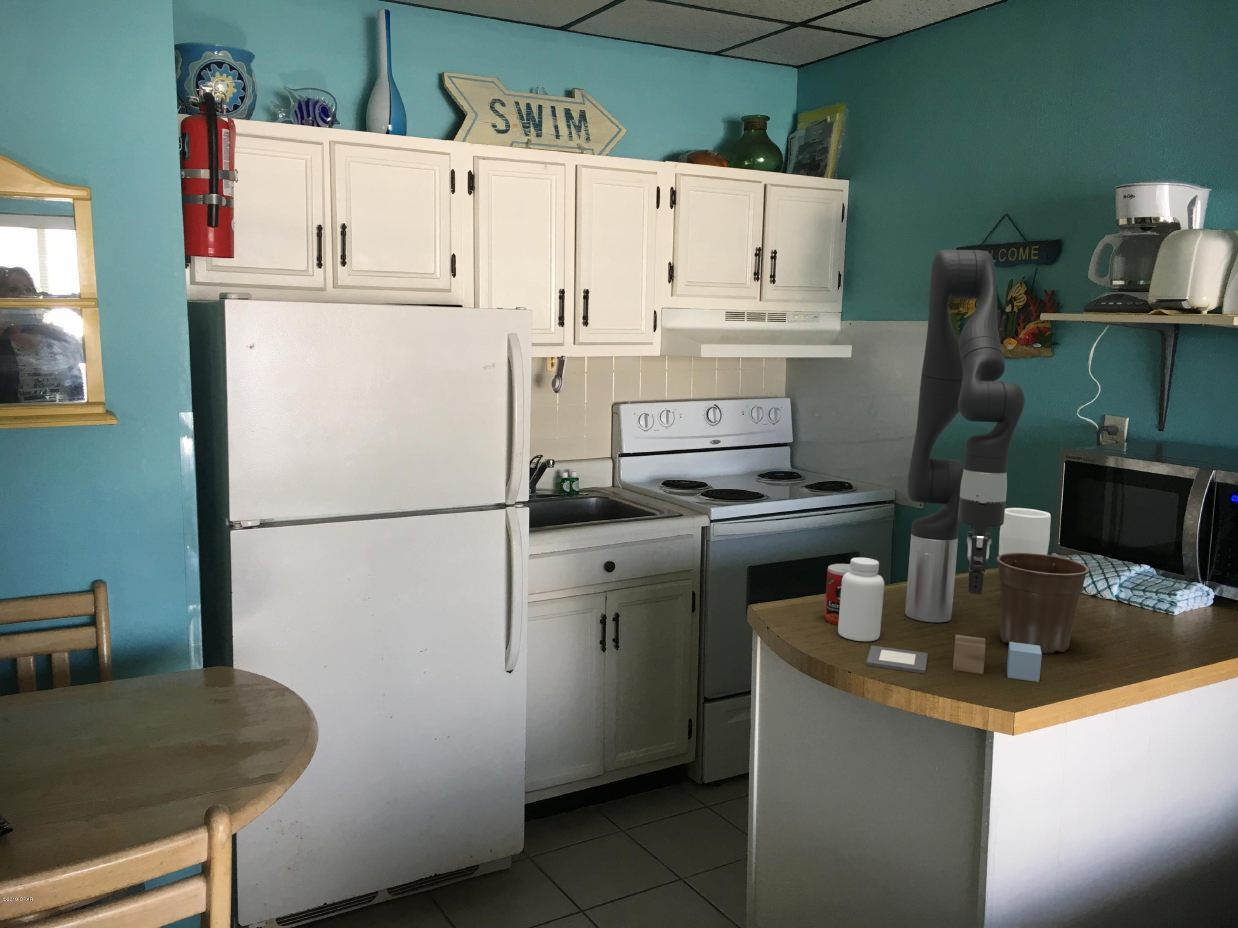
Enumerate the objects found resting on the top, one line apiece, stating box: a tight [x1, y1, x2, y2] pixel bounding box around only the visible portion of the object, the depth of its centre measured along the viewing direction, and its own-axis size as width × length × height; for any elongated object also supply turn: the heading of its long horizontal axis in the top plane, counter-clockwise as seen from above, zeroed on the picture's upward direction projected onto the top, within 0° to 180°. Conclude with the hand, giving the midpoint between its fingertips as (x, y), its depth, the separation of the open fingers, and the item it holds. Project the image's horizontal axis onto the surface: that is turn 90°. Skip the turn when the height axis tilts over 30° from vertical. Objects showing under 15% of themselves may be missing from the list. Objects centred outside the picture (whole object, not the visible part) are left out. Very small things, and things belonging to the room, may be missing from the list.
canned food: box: [824, 563, 851, 626], centre depth 198 cm, size 8×8×11 cm
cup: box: [998, 507, 1052, 556], centre depth 210 cm, size 10×10×22 cm
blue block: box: [1006, 642, 1043, 683], centre depth 170 cm, size 5×5×5 cm
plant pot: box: [996, 553, 1090, 654], centre depth 187 cm, size 16×16×16 cm
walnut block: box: [952, 634, 986, 675], centre depth 173 cm, size 5×5×5 cm
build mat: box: [865, 645, 929, 675], centre depth 175 cm, size 10×10×1 cm
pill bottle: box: [837, 557, 885, 642], centre depth 188 cm, size 8×8×15 cm
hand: (974, 587), depth 171 cm, fingers open, 8 cm apart
